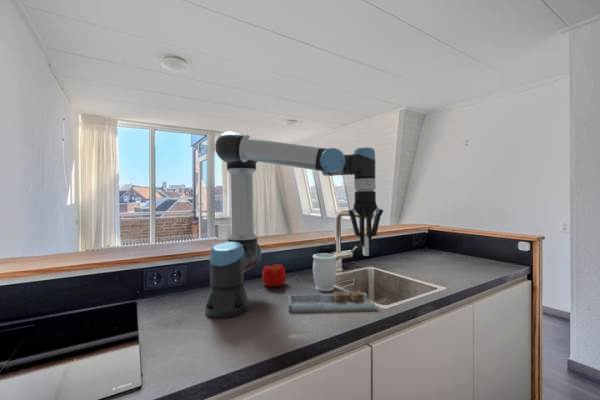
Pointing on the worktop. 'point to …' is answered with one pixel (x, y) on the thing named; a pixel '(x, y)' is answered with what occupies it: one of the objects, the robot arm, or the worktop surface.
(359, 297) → the brown wooden cube
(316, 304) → the slot rail
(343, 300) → the chip
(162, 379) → the worktop surface
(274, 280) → the tomato
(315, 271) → the jar
